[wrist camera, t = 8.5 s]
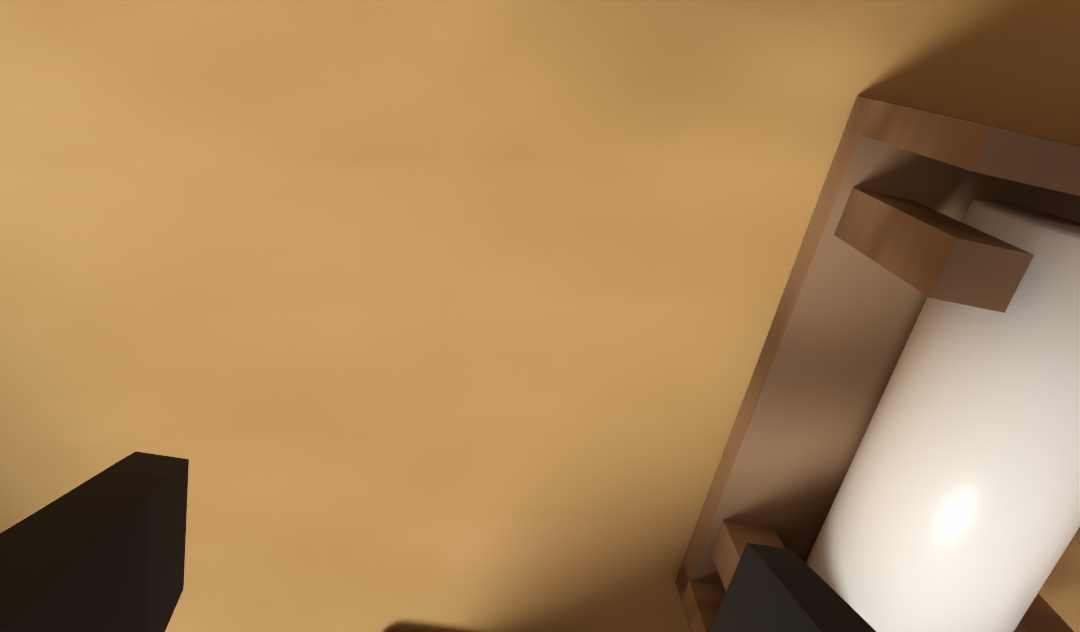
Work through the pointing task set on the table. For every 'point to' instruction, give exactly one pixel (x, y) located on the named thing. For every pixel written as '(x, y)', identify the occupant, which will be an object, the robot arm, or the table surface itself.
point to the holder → (866, 321)
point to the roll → (969, 452)
